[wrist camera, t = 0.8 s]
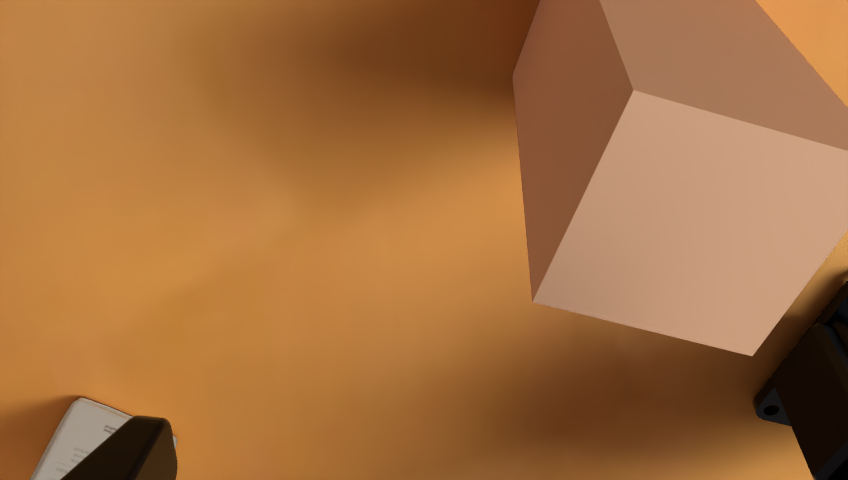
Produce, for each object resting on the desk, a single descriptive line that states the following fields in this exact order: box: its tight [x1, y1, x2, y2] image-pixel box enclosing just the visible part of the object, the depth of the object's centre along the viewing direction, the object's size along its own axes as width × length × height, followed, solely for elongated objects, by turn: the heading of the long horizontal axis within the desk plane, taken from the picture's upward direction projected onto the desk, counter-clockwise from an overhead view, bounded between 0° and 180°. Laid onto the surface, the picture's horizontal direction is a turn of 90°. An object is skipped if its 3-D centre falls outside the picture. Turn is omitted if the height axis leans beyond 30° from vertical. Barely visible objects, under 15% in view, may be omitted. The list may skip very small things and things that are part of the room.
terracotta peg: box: [512, 0, 848, 356], centre depth 15 cm, size 4×4×9 cm
